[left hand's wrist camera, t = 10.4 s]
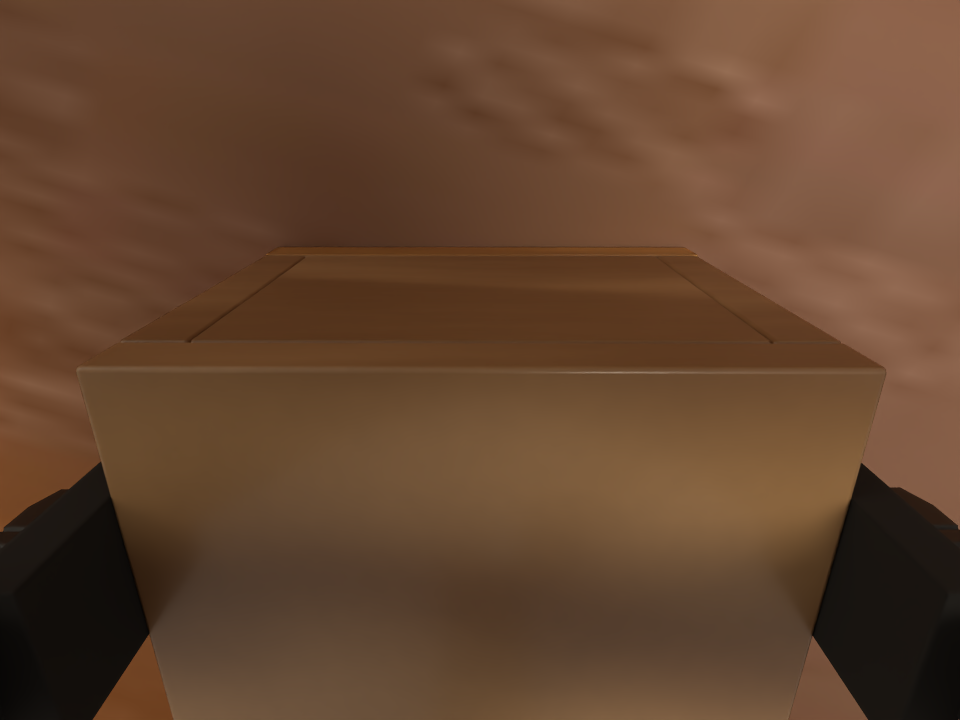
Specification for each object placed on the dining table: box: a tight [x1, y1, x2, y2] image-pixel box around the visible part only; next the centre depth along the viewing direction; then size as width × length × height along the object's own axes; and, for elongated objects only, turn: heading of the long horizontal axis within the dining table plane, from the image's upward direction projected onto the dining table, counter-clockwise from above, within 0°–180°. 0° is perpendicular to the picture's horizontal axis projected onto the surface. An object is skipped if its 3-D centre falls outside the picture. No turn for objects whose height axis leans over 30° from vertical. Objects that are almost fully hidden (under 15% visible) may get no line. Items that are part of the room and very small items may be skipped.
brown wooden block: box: [76, 247, 886, 720], centre depth 15 cm, size 20×11×8 cm, turn 0°
